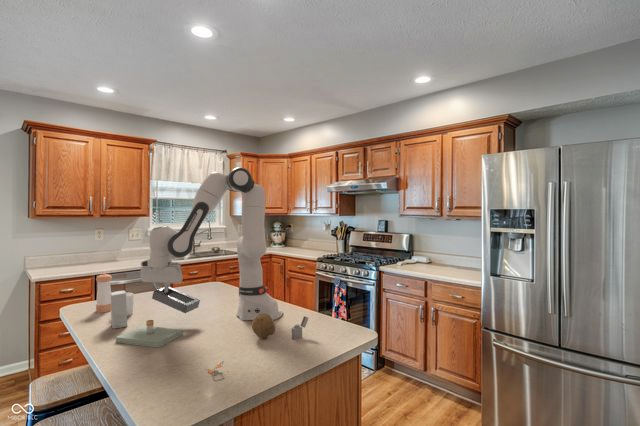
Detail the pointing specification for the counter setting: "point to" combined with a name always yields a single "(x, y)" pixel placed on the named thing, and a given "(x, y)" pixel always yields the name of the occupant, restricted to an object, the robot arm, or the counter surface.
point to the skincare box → (118, 309)
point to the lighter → (299, 329)
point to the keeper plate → (149, 335)
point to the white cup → (129, 303)
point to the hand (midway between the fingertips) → (162, 292)
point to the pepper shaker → (103, 293)
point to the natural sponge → (263, 326)
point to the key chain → (216, 372)
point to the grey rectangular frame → (176, 299)
